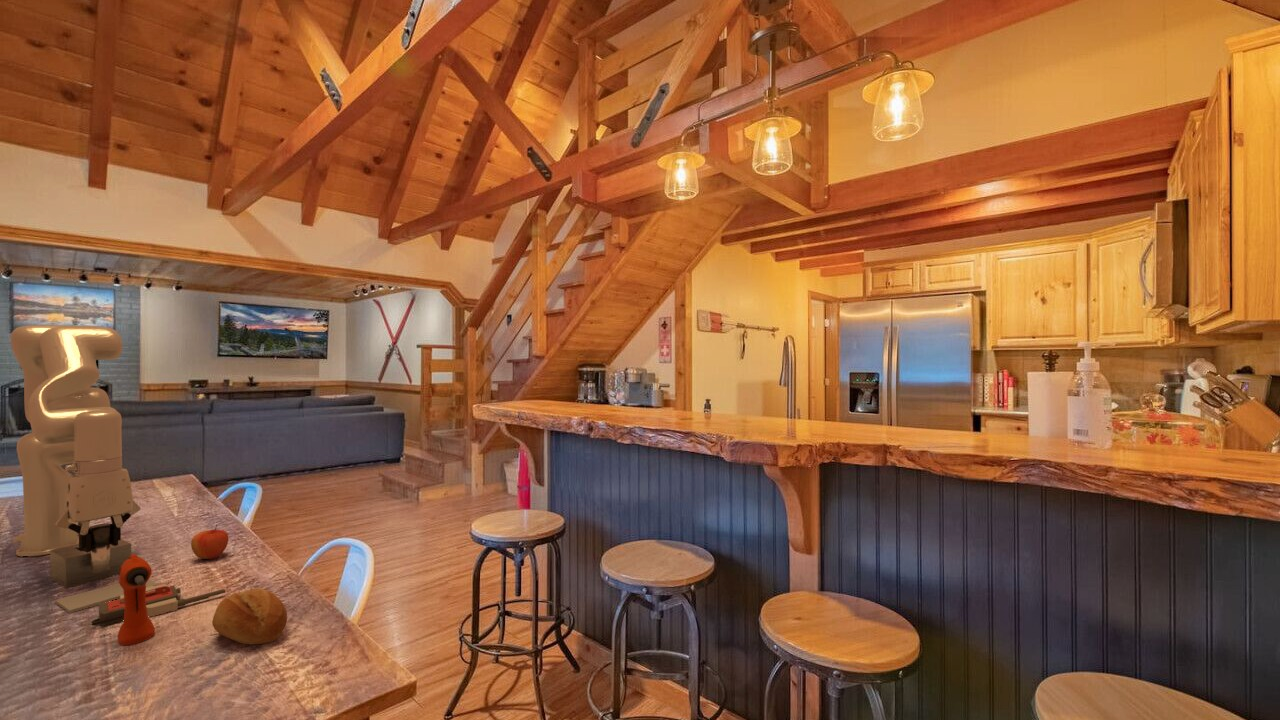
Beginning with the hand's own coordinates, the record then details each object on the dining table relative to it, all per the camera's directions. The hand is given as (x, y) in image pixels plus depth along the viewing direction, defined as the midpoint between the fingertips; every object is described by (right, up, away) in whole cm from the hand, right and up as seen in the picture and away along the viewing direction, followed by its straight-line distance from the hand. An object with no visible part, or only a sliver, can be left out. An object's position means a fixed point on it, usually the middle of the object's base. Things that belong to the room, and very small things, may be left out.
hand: (100, 546), depth 122 cm
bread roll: (+50, -8, -23) cm, 56 cm away
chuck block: (-7, -8, +6) cm, 13 cm away
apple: (+13, -8, +15) cm, 21 cm away
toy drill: (+32, -9, -26) cm, 42 cm away
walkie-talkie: (+24, -9, -12) cm, 28 cm away
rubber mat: (+7, -8, -6) cm, 12 cm away
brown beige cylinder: (0, -5, 0) cm, 5 cm away
